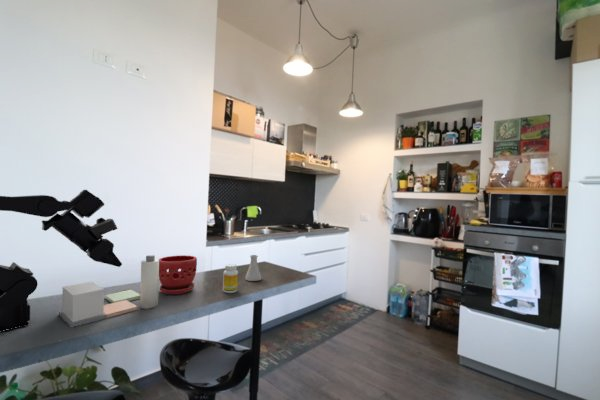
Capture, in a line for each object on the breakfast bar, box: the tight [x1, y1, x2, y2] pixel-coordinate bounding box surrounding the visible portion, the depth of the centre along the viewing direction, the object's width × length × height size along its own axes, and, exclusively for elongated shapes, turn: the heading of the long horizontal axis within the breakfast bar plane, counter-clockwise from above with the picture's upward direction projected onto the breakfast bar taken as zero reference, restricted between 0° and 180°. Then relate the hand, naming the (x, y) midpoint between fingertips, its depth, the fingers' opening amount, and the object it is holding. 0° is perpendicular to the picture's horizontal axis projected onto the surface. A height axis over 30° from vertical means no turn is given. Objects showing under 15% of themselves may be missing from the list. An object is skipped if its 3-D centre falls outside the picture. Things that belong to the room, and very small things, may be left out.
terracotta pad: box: [104, 300, 138, 319], centre depth 87 cm, size 8×8×1 cm
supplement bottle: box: [222, 263, 239, 294], centre depth 107 cm, size 5×5×10 cm
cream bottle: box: [139, 254, 160, 309], centre depth 91 cm, size 5×5×16 cm
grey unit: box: [58, 281, 108, 328], centre depth 82 cm, size 8×12×8 cm, turn 52°
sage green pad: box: [104, 289, 140, 304], centre depth 96 cm, size 8×8×1 cm
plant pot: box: [158, 255, 198, 295], centre depth 106 cm, size 13×13×12 cm
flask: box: [244, 254, 262, 282], centre depth 123 cm, size 7×7×10 cm
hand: (116, 262), depth 92 cm, fingers open, 9 cm apart
